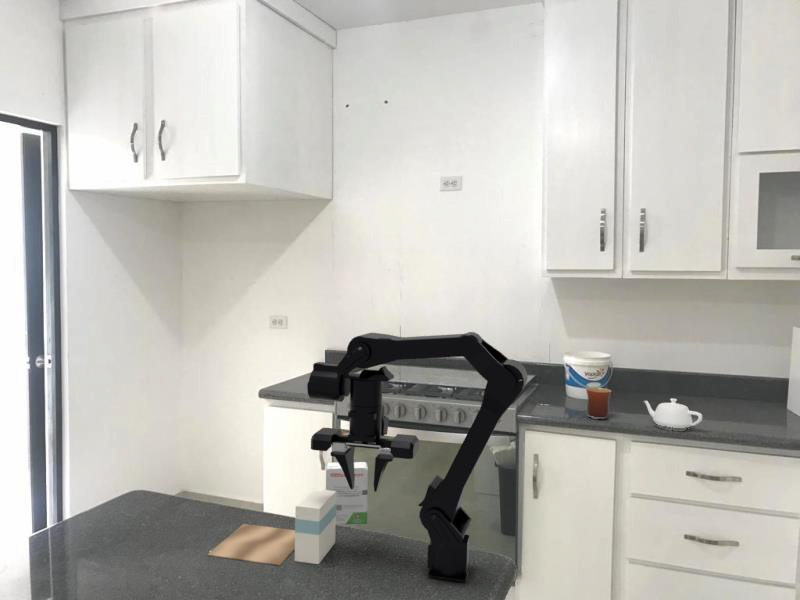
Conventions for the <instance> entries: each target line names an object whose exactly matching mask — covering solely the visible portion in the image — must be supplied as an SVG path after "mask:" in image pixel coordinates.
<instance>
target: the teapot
mask: <svg viewBox="0 0 800 600" xmlns="http://www.w3.org/2000/svg"><path fill="white" fill-rule="evenodd" d="M669 400H670V401H671V402H660V403H659V404H658V405H657V406H656V408H655V410H653V408H652V406H651V404H650V403H649V401H648V400H643V403H644V404H645V406H646V408H647V410H648V413H649V415H650V416H651V418H652V419H653V422H655V423H656V424H658V425H661V426H667V427H671V428H672V427H673V428H685V427H690V426H691V427H692V426H697V425H698V424H700V423H701V422H702V421H703V414H702V413H701V412H698V411H693V410H690V409H689V407H688V406H687V405H684V404H680V403H677V401H678V399H677V398H674V397H673V398H670V399H669ZM692 415H693V416H697V417H698V418H697V420H696V421H694V420H693V418H692ZM655 423H654V424H655ZM656 424H655V425H656ZM691 427H690V428H691Z"/></svg>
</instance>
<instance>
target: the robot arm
mask: <svg viewBox="0 0 800 600" xmlns="http://www.w3.org/2000/svg"><path fill="white" fill-rule="evenodd" d="M458 357H459V358H461V357H462V358H464V359H465V360H466V361H467V362H468V363H469V364H470V365H471V366H472V367H473V368H474V370H475V371H476V372H477V373H478V374H479V375H480V376H481V377H482V378H483V380H485V381H487V382H486V385H485V389H484V391H483V396H482V400H481V405H480V409H478V410H479V411H478V412H477V415H476V416H475V418H474V420H473V423H472V424H471V426H470V428H469V430H468V432H467V434H466V436H465V437H464V439H463V442H462V443H461V445H460V447H459V449H458V451H457V453H456V455H455V457H454V459H453V461H452V463H451V465H450V467H449V469H448V471H447V473H446V474H445V475H444V477H443V478H442V477H441V476H439V475H438V474H436V475H435V476H434V478H433V479H432V480H431V482H430V483H429V484H428V486H427V489H426V493H425V495H424V496H423V498H422V499H421V501H420V502H419V504H418V507H421V508H420V510H419V515H418V517H419V519H420V523H421V525H422V526H423V528H424V529H426V530H427V534H428V536H429V539H430V541H429V543H428V545H427V558H426V559H427V561H426V562H427V563H426V564H427V565H426V568H427V570H428V573H427V577H428V578H431V579H437V580H438V579H439V580H443V581H444V580H445V581H451V582H452V581H453V582H459V583H466V582H467V579H468V575H469V571H470V567H471V562H469V561H470V559H469V557H470V535H469V534H466V533H467V531H468V529H469V528H470V526H471V522H472V518H471V517H470V515H469V514H468V513H467V512H466V511H465V509H464V508H463V507H462V502H463V499H464V495H465V491H466V486H467V483H468V481H469V479H470V477H471V475H472V473H473V471H474V470H475V468H476V465H477V463H478V462H479V459H480V457H481V456H482V453H483V452H484V450H485V448H486V446H487V444H488V442H489V440H490V438H491V437H492V434H493V432H494V430H495V429H496V427H497V424H498V423H499V421H500V419H501V417H502V416H503V415H504V414H505V413H506V411H507V410H508V409H509V408H510V406H512V405H513V403H514V401H515V400H516V399H517V397H519V395H520V394H521V393H522V391H523V389H524V387H525V386H526V384H527V381H528V373H527V369H526V367H525V366H524V365H523V364H522V363H521V362H520V361H519V360H515V359H513V358H512V359H511V358H510V359H509V358H508V357H507V356H506V355H505V354H503V352H501V351H500V350H498V349H497V348H495V346H492V345H491V344H490V343H488V342H487V341H485V340H484V339H483V337H482V336H481V335H479V334H478V333H477V332H475V331H469V332H466V333H465V332H464V333H455V334H452V333H451V334H441V335H440V334H439V335H438V334H436V335H424V336H423V335H421V336H420V335H419V336H406V337H405V336H397V335H393V334H387V333H378V332H369V333H368V332H367V333H364V334H360V335H358V336H354V337H353V338H351V340H350V341H349V343H348V345H347V348H346V354H345V355H344V357H343V358H342V359H341V360H340V361H339V363H338V364H337V363H336V364H335V363H327V362H326V361H325V362H323V361H317V362H315V363H313V364H312V369H313V370H311V373H310V375H309V378H308V382H307V387H306V390H307V395H308V398H310V399H311V400H320V401H327V402H338V403H339V402H340V403H341V402H343V401H344V400H345V398H347V397H349V411H347V418H349V425H348V426H349V429H348V430H349V431H348V434H342V430H341V428H334V427H333V428H331V427H322V428H320V429H319V430H317V431H316V432H314V434H313V435H312V436H311V439H310V449H311V450H312V451H321V452H327V451H328V450H330V448H331V451H330V453H329V454H330V457H333V458H335V460H336V461H337V462H338V463H339V465H340V466H341V468H342V470H343V472H344V475H345V477H346V480H347V482H348V484H349V487H350V489H353V488H354V482H355V474H354V462H355V459H354V457H355V450H356V448H365V449H375V450H378V452H379V453H378V454H377V456H375V459H374V472H373V473H374V474H373V491H374V492H375V493H376V492H378V491H379V487H380V484H381V481H382V478H383V475H384V473H385V470H386V468H387V465H388V464H389V463H390V462H393V461H394V459H404V460H405V459H406V460H412V459H414V458H415V456H416V455H417V454H418V452H420V451H419V449H420V439H419V438H418V436H417V435H413V434H403V433H401V434H400V433H397V434H396V435H395V436H394V437H393V438H385V437H384V436H385V435H388V432H389V429H388V428H389V421H390V418H389V417H388V416H387V415H384V407H383V382H390V381H391V380H393V379H394V378H395V374H393V373H392V372H391V371H389V369H388V368H387V366H386V365H384V364H388V363H392V362H395V361H400V360H417V359H418V360H420V359H422V360H423V359H438V358H441V359H442V358H458ZM380 365H383V366H381V367H380V368H379V369H368V368H372V367H376V366H380ZM357 369H363V370H362V371H361V372H360V373H357V372H352V371H355V370H357ZM382 437H384V438H382Z"/></svg>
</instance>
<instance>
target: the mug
mask: <svg viewBox="0 0 800 600" xmlns="http://www.w3.org/2000/svg"><path fill="white" fill-rule="evenodd" d="M585 391H586V395H587V406H586V407H587V408H586V412H587V413H586V414H587V416H588V415H590V416H594V417H606V416H608V417H609V413H610V398H611V394H612V391H613V390H611V389H608V388H603V387H587V388H586V389H585Z"/></svg>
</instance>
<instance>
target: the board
mask: <svg viewBox="0 0 800 600" xmlns="http://www.w3.org/2000/svg"><path fill="white" fill-rule="evenodd" d="M293 552H295V529H288V528H280V527H272V526H263V525H256V524H248V523H247V524H246V523H242V525H240V526H239V527H238V528H237V529H235V531H233V532H232V533H231V534H230V535H229V536H228V537H226V538H225V539H224V540H223V541H221V543H219V544H218V545H217V546H216V547H215V548H213V549H212V550H211V551H210V552H208V553H207V554H206V556H208V557H216V558H220V559H221V558H222V559H227V560H228V559H230V560H235V561H243V562H249V563H250V562H251V563H256V564H257V563H258V564H264V565H273V566H279V567H281V565H282V564H283V563H284V562H285V561H286V560H287V559H288V558H289V556H290V555H291V554H292V553H293Z"/></svg>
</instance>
